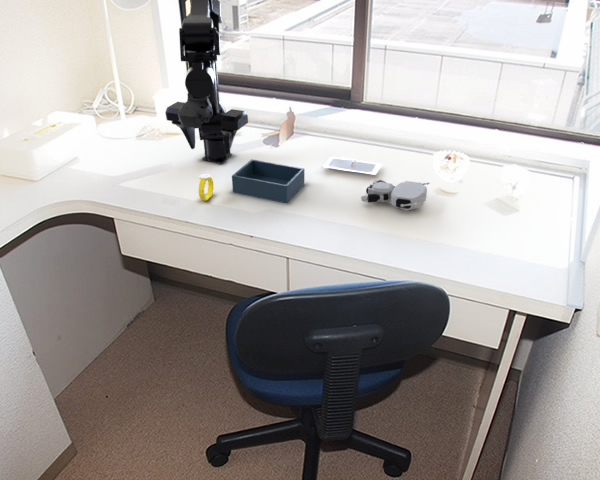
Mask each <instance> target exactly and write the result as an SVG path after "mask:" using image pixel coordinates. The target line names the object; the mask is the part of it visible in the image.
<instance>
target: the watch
mask: <svg viewBox="0 0 600 480" xmlns="http://www.w3.org/2000/svg"><path fill="white" fill-rule="evenodd" d="M198 177H199V183H198V189H197V190H198V196H199V199H200V200H201V201H206V202H207V201H209V199H210V198H211V197H213V193H214V187H215V185H214V180H213V178H212V176H211V174H208V173H203V174H200V175H198ZM206 182H207V191H206V195H205V186H206Z"/></svg>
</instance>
